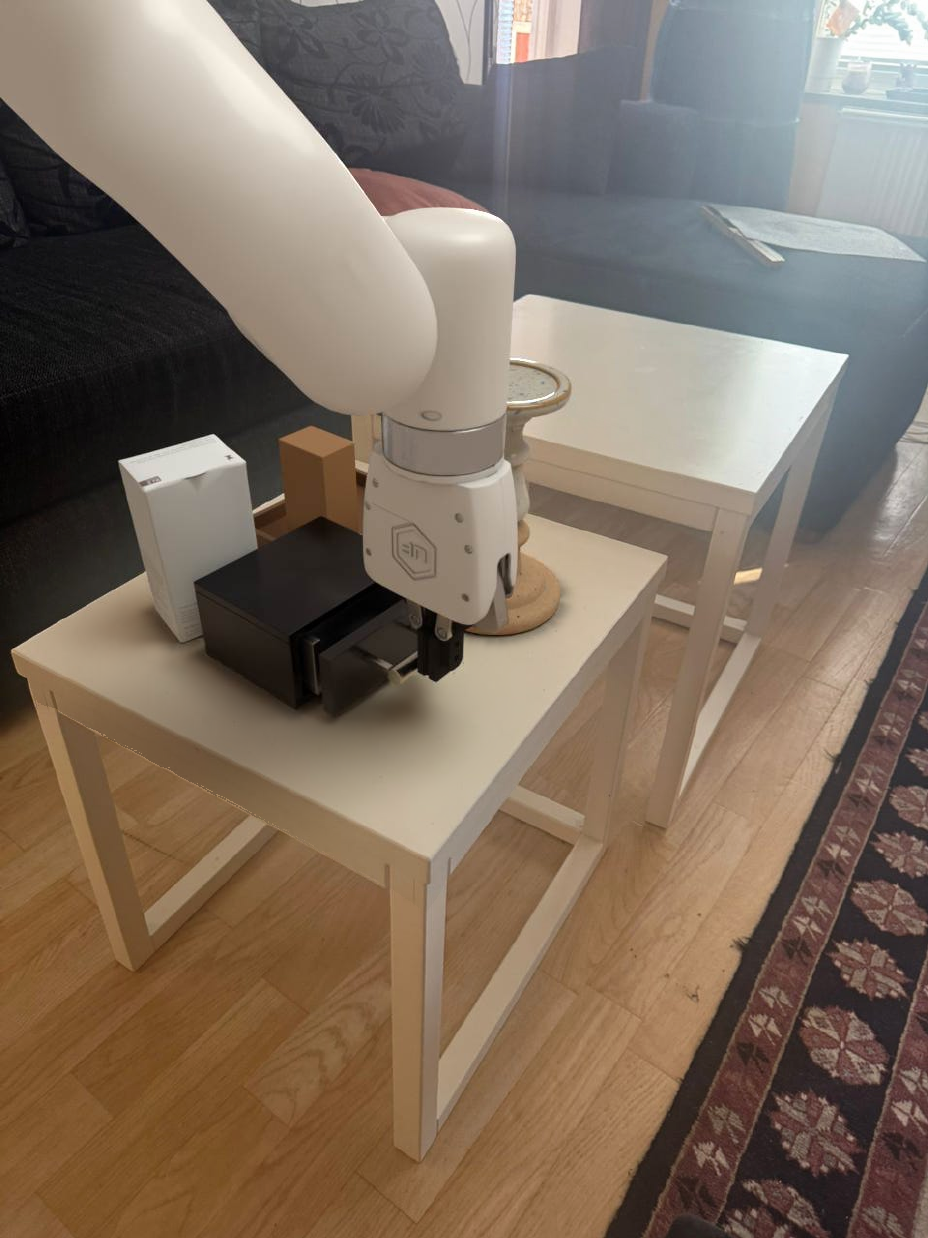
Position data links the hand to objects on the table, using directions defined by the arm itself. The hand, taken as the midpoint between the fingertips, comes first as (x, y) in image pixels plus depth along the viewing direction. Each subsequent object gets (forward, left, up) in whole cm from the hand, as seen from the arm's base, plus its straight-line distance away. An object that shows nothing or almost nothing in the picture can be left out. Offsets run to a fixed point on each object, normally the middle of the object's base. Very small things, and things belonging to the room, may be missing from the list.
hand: (439, 668), depth 63 cm
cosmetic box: (-3, +23, -4) cm, 24 cm away
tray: (+14, +25, -4) cm, 29 cm away
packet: (+10, +23, -4) cm, 25 cm away
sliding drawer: (0, +8, -3) cm, 8 cm away
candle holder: (+15, +6, -4) cm, 17 cm away
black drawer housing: (0, +14, -4) cm, 14 cm away
